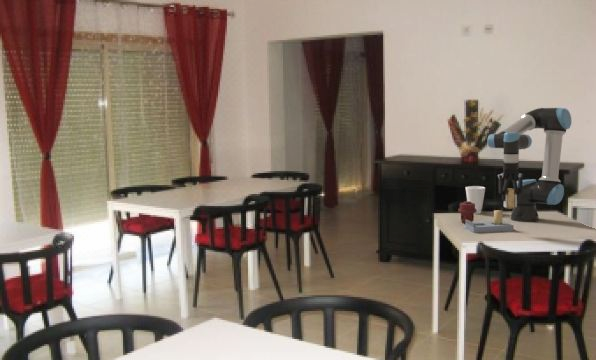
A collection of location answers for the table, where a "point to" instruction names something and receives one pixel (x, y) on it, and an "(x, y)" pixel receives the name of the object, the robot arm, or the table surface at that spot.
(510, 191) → the bushing
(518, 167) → the robot arm
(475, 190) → the cup
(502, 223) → the jig
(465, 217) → the mechanical component
